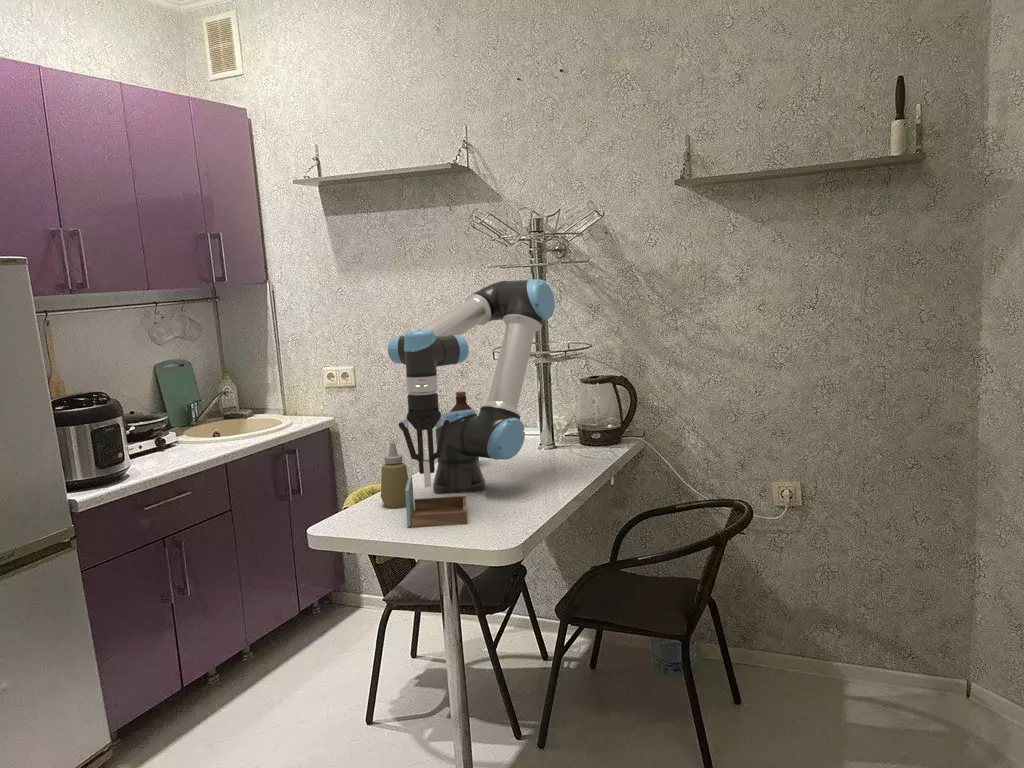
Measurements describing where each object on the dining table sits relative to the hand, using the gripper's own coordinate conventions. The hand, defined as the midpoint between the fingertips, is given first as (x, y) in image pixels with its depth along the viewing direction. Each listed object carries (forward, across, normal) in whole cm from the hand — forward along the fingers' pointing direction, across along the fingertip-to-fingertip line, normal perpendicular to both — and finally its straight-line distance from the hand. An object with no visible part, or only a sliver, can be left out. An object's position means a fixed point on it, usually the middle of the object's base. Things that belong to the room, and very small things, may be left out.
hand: (427, 485), depth 192 cm
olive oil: (+9, +10, +59) cm, 61 cm away
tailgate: (+8, -5, 0) cm, 10 cm away
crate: (+9, +2, 0) cm, 9 cm away
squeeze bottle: (+9, -9, +14) cm, 19 cm away
